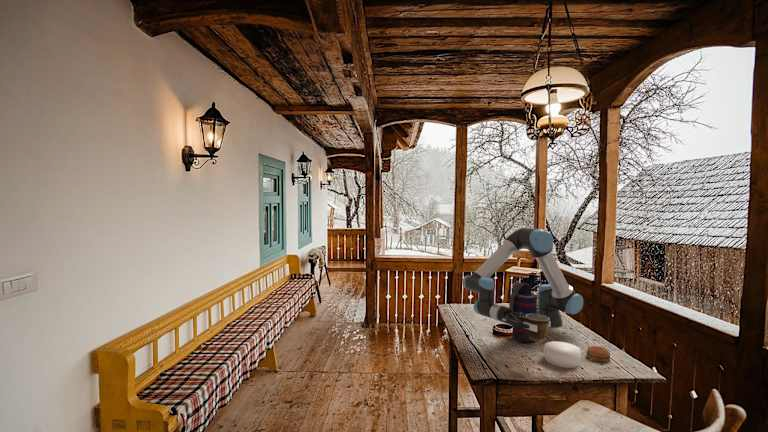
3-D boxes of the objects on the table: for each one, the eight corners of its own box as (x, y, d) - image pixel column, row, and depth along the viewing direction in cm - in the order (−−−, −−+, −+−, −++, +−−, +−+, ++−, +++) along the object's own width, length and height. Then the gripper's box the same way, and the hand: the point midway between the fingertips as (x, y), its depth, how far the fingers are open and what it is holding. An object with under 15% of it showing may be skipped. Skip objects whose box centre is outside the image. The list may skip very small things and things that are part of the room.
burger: (614, 362, 168) (614, 352, 168) (593, 362, 168) (593, 352, 168) (602, 353, 178) (602, 344, 178) (582, 353, 178) (582, 344, 178)
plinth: (562, 351, 180) (562, 339, 180) (588, 364, 166) (588, 351, 165) (537, 356, 175) (537, 343, 175) (562, 370, 161) (562, 356, 161)
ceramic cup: (550, 337, 168) (550, 315, 167) (547, 345, 159) (547, 322, 159) (520, 332, 174) (520, 311, 174) (516, 339, 166) (516, 317, 165)
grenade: (530, 335, 202) (530, 280, 201) (540, 343, 190) (541, 285, 189) (505, 335, 201) (505, 281, 200) (514, 344, 190) (514, 286, 188)
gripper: (515, 316, 188) (557, 329, 170) (486, 325, 176) (528, 340, 157) (515, 302, 188) (557, 313, 169) (486, 309, 175) (528, 323, 157)
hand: (543, 326), depth 163 cm, fingers closed on ceramic cup, 9 cm apart
